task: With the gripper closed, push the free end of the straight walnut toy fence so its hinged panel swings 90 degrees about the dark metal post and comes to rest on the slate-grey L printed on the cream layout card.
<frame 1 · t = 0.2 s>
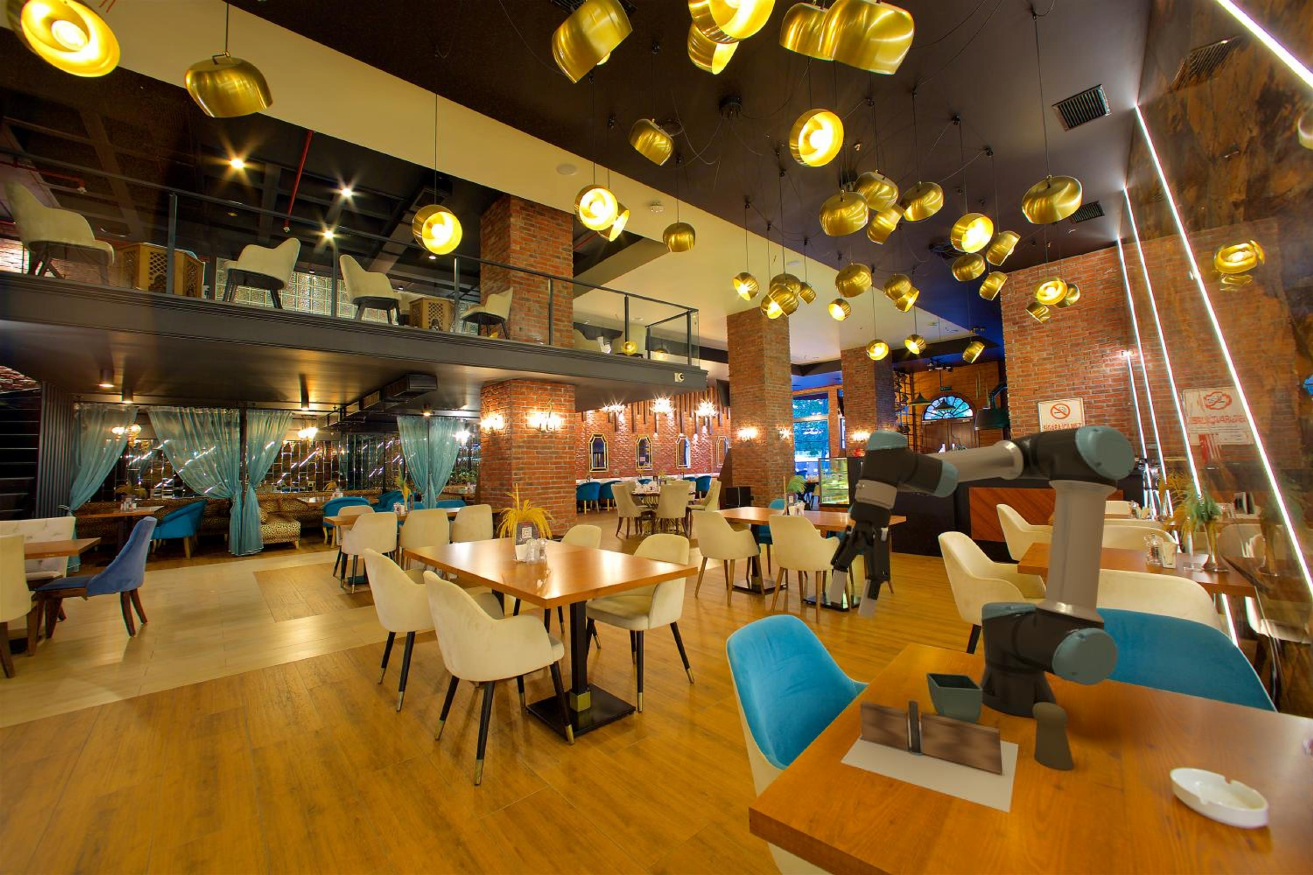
hand: (848, 608, 104), 27 cm above the table, tool tilted 20°, fingers open, 13 cm apart
fence panel: (959, 741, 96), point 5 cm above the table, hinge at 0.0°
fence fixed: (916, 751, 100), resting on layout card
cork: (1054, 768, 95), on the table
layout card: (932, 758, 99), on the table
flower pot: (956, 724, 114), on the table
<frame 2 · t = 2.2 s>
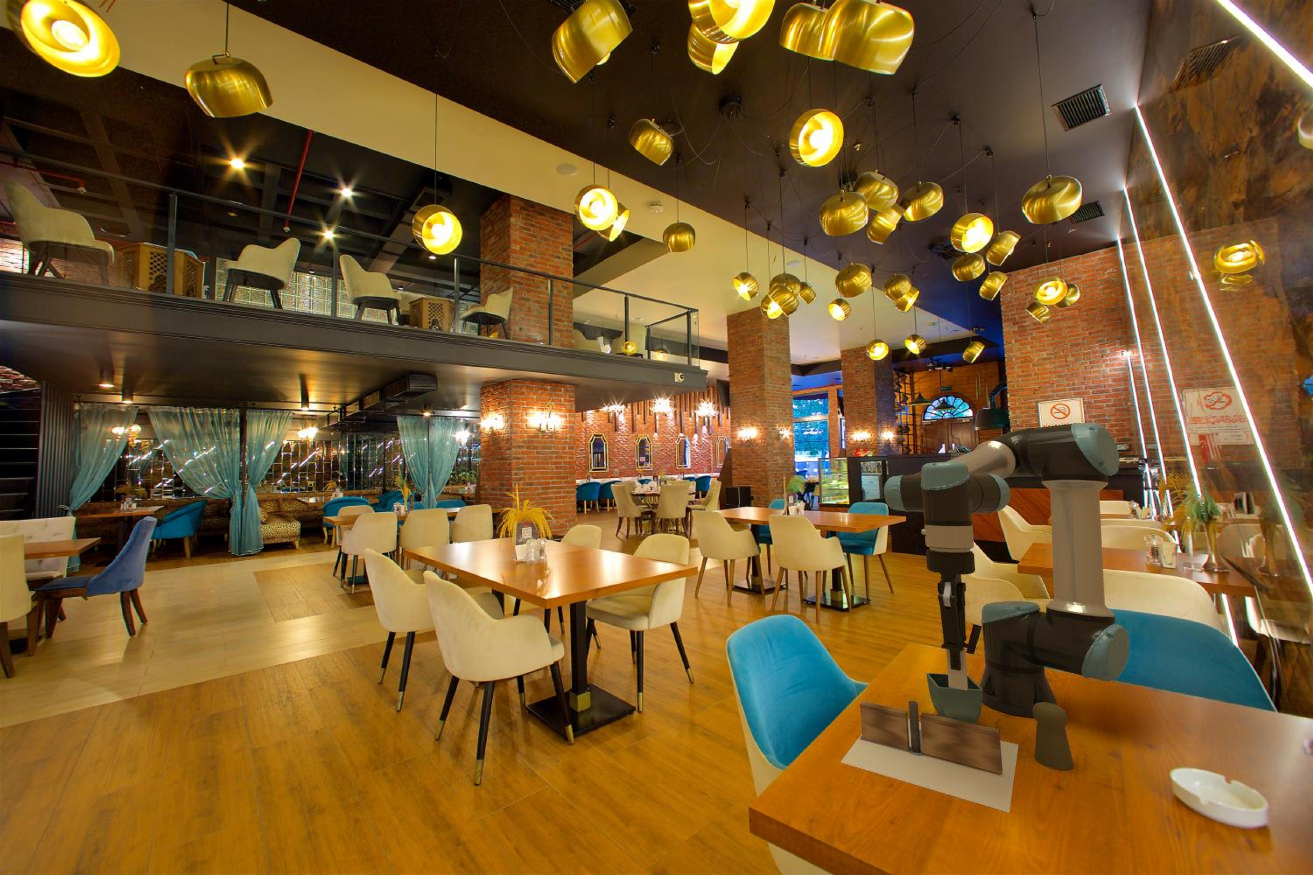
hand: (958, 687, 91), 17 cm above the table, tool pointing down, fingers closed
nothing on the table moved.
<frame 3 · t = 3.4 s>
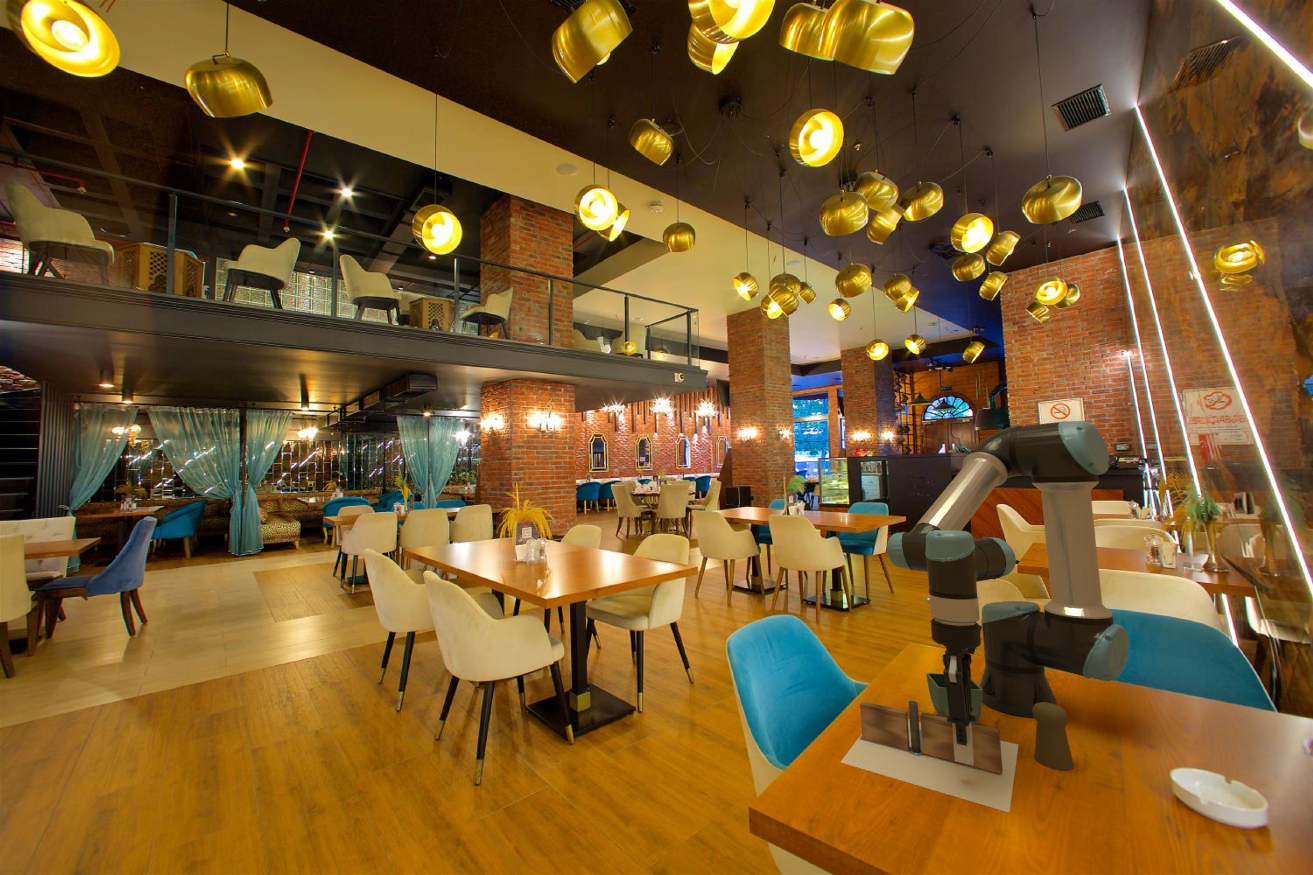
hand: (964, 761, 90), 4 cm above the table, tool pointing down, fingers closed
nothing on the table moved.
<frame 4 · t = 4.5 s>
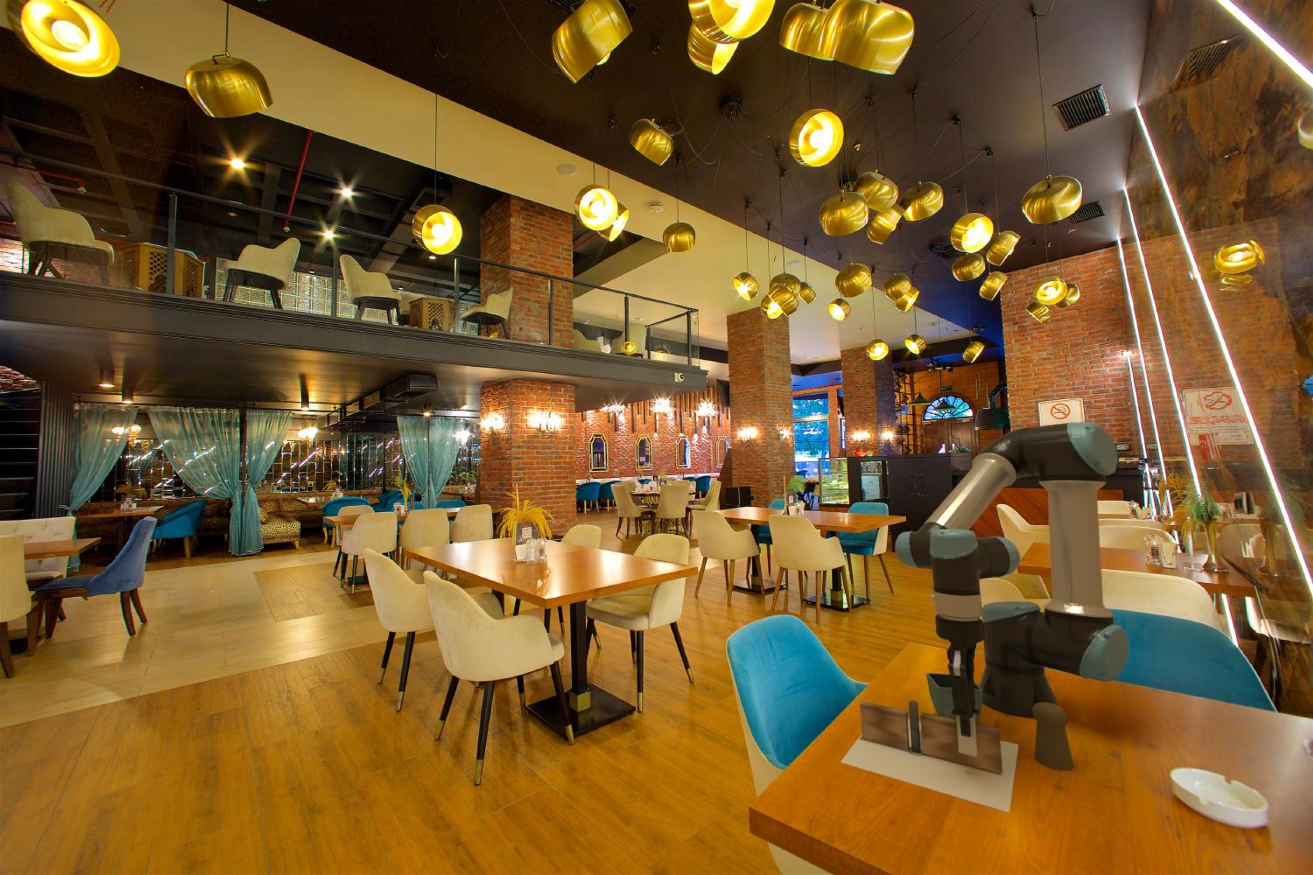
hand: (968, 752, 93), 4 cm above the table, tool pointing down, fingers closed
fence panel: (960, 741, 96), point 5 cm above the table, hinge at 0.7°, touching gripper
everything else where it was.
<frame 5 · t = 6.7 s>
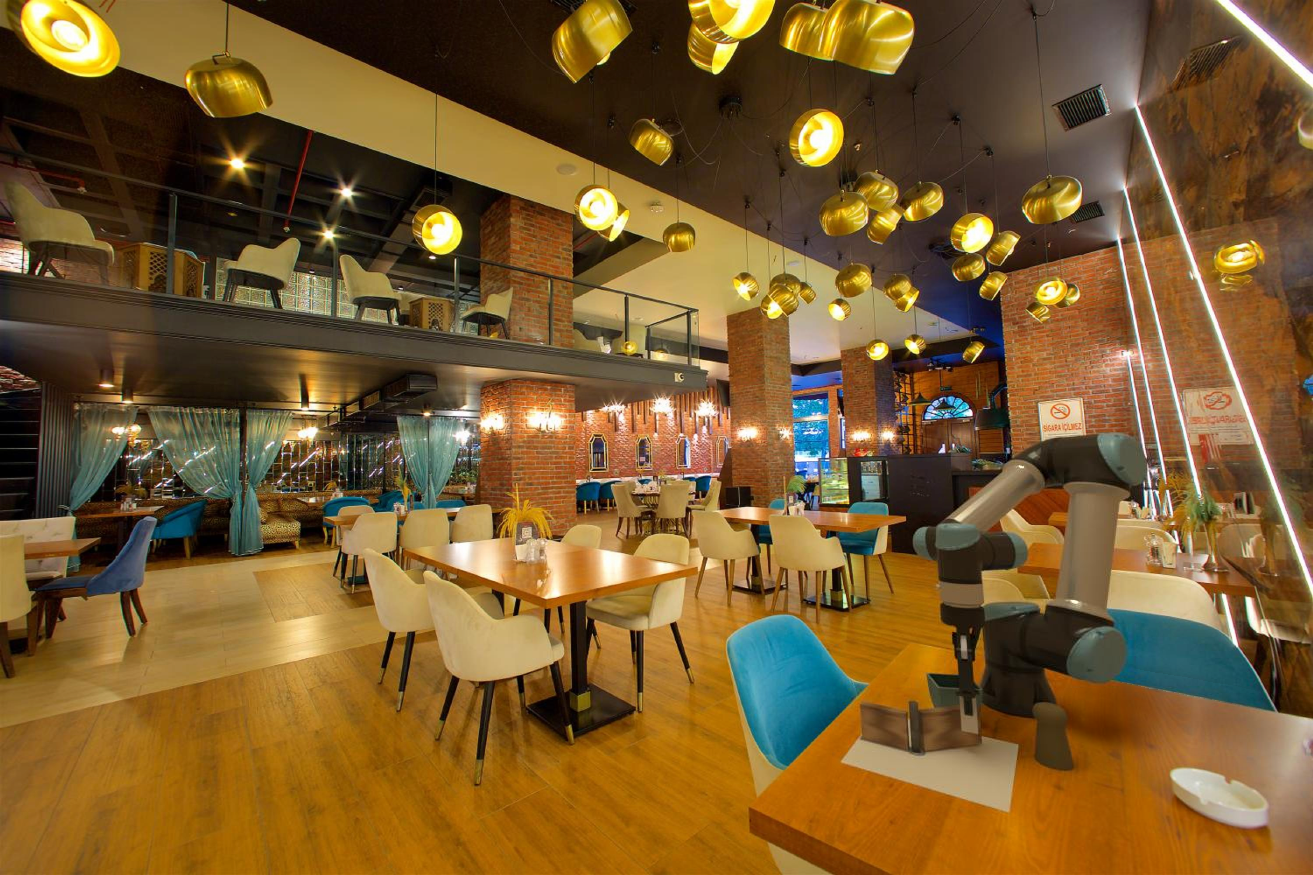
hand: (969, 730, 100), 5 cm above the table, tool pointing down, fingers closed
fence panel: (949, 726, 102), point 5 cm above the table, hinge at 47.6°, touching gripper
everything else where it was.
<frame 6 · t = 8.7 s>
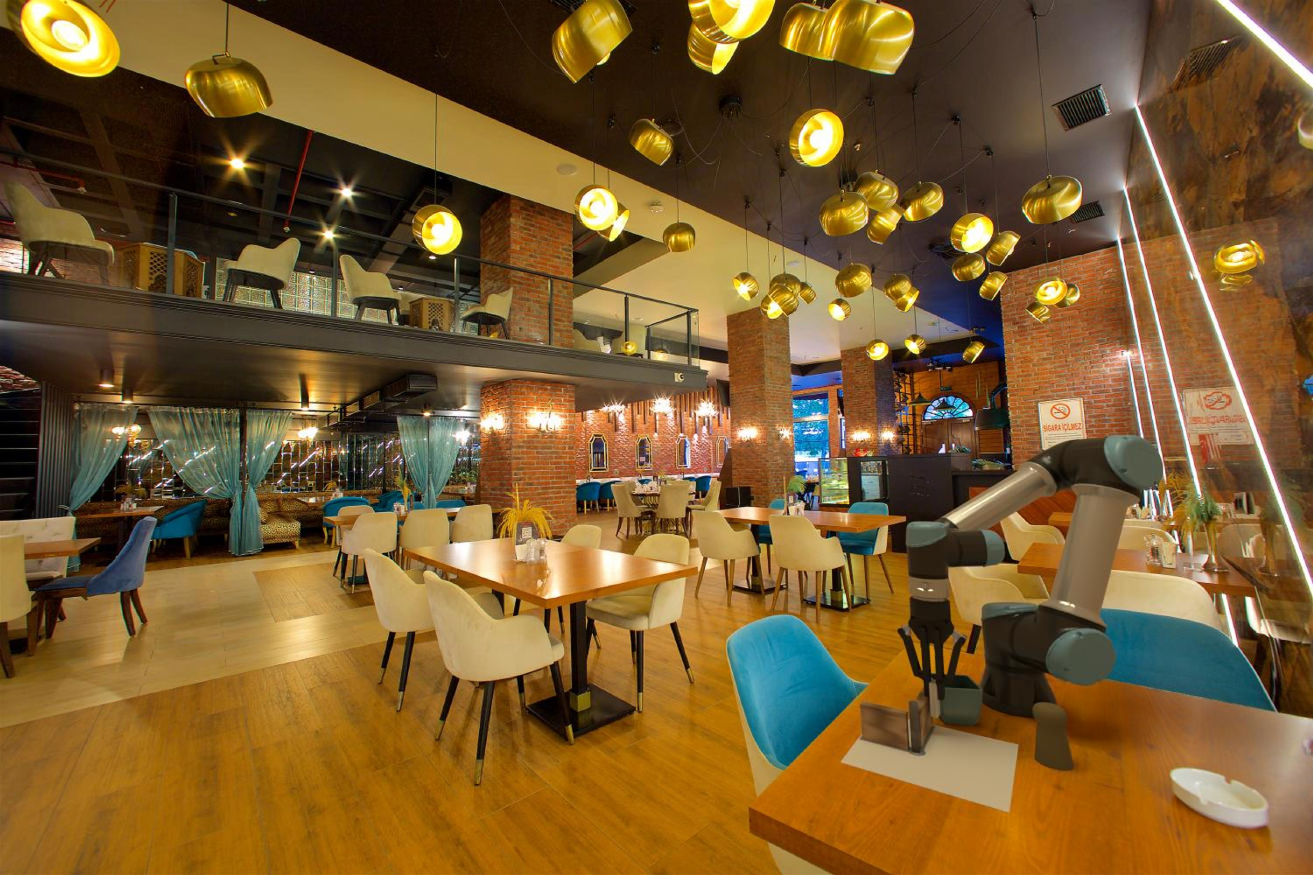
hand: (935, 714, 107), 5 cm above the table, tool pointing down, fingers closed
fence panel: (922, 716, 107), point 5 cm above the table, hinge at 90.3°, touching gripper
everything else where it was.
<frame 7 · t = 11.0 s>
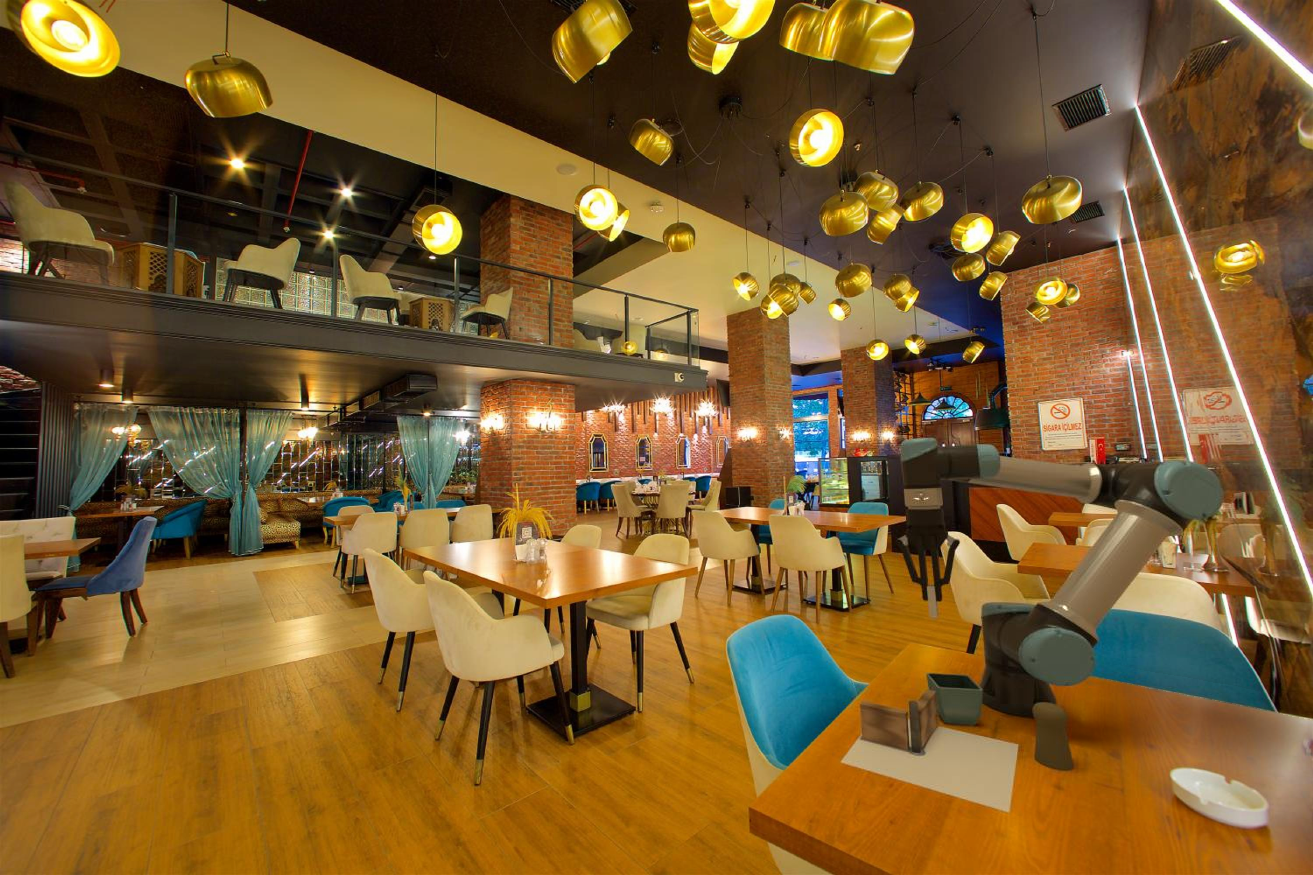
hand: (934, 616, 115), 23 cm above the table, tool pointing down, fingers closed
fence panel: (925, 716, 106), point 5 cm above the table, hinge at 86.7°
everything else where it was.
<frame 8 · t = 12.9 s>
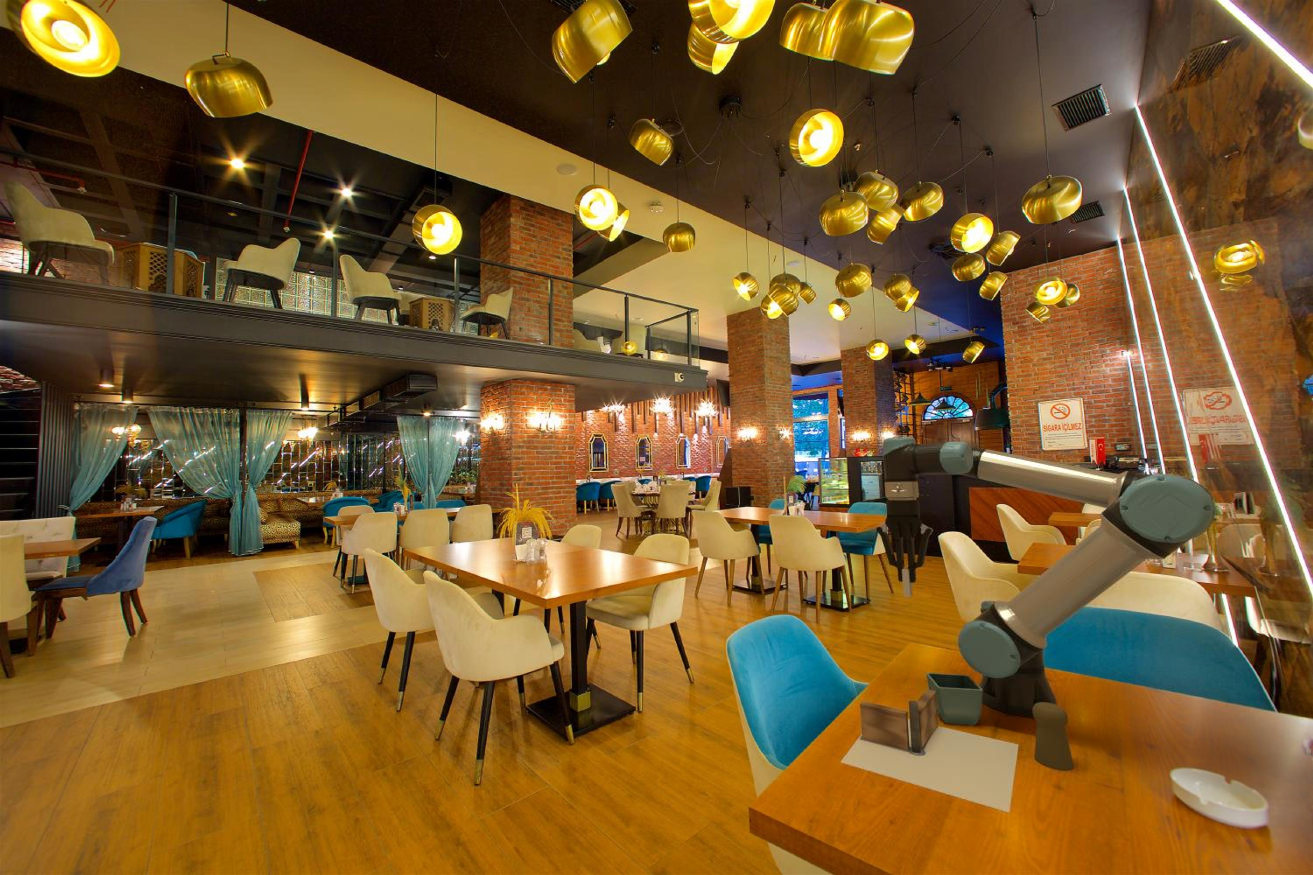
hand: (908, 595, 129), 24 cm above the table, tool pointing down, fingers closed
nothing on the table moved.
at the end: fence panel at +87° (first picture: +0°) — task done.
